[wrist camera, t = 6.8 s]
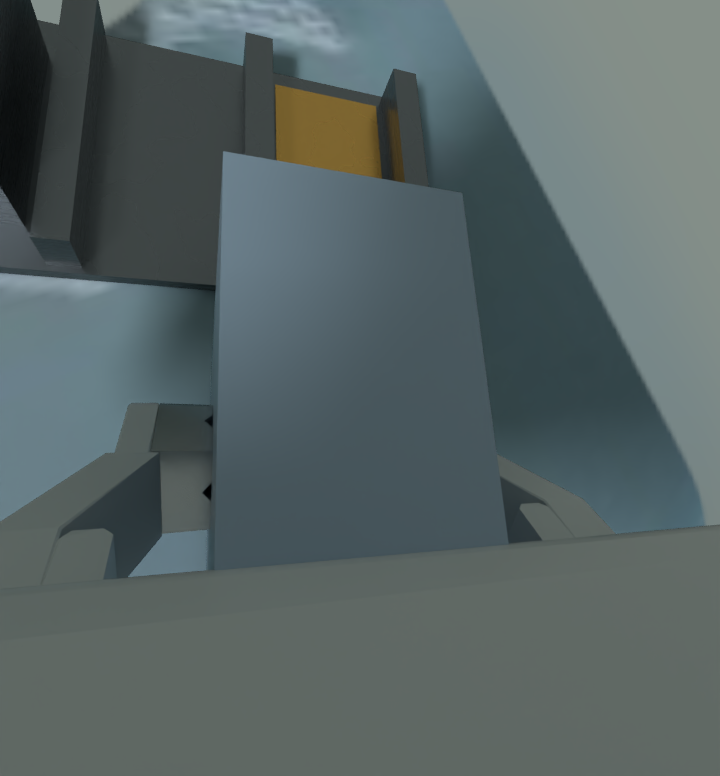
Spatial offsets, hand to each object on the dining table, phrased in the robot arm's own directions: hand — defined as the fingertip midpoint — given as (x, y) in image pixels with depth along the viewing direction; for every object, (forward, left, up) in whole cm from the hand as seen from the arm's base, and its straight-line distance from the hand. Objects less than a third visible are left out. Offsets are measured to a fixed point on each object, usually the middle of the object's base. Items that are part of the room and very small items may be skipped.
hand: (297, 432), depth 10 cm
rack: (-10, +6, -6) cm, 13 cm away
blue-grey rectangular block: (0, 0, -5) cm, 5 cm away
